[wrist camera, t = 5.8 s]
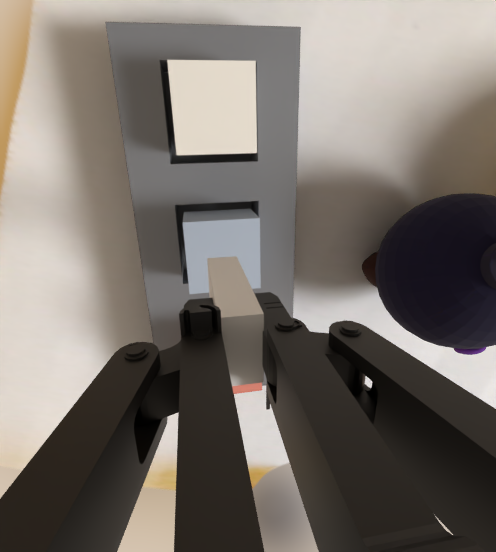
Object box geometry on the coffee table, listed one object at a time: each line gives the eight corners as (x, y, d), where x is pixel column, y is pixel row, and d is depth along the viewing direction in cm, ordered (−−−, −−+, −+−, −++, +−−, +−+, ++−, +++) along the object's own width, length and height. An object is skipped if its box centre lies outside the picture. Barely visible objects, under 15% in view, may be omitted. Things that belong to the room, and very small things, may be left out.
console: (119, 42, 23) (105, 21, 20) (284, 45, 25) (300, 27, 21) (165, 370, 33) (161, 398, 30) (280, 357, 35) (291, 381, 31)
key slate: (183, 211, 24) (182, 222, 21) (250, 208, 25) (259, 218, 22) (189, 274, 26) (189, 294, 23) (251, 269, 27) (260, 288, 23)
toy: (370, 322, 35) (487, 433, 21) (318, 212, 30) (427, 265, 16) (471, 264, 35) (656, 340, 21) (435, 142, 29) (653, 134, 16)
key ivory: (171, 74, 22) (167, 59, 18) (245, 75, 23) (255, 60, 19) (178, 154, 24) (176, 155, 20) (247, 152, 24) (256, 153, 21)
